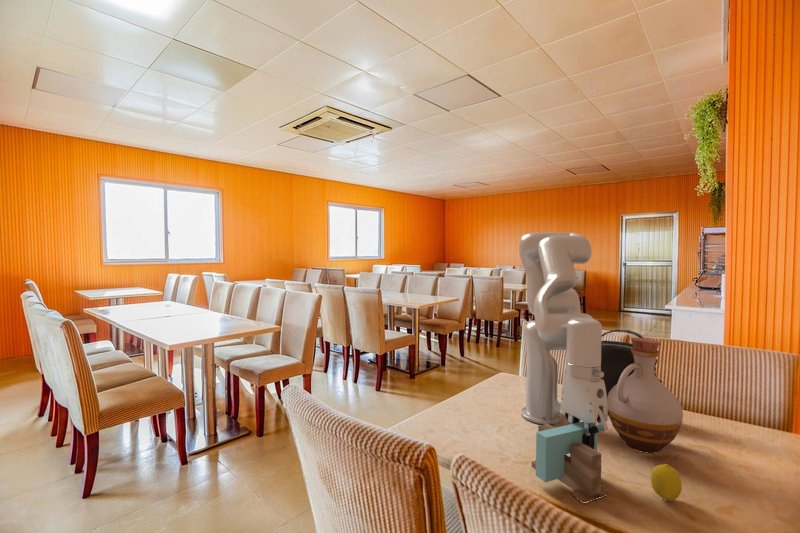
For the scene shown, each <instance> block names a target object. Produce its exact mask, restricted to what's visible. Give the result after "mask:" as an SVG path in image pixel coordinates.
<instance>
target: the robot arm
mask: <svg viewBox="0 0 800 533" xmlns="http://www.w3.org/2000/svg"><path fill="white" fill-rule="evenodd" d="M518 245H519V246H518V251H519V257H520V261H521V264H522V267H523V269H524V272H525V279H526V282H525V283H526V298H527V299H526V300H527V308H528V311H529V313H530V314H532V315H534V320H531V321H529V322H527V323H526V324H525V326H524V330H523V332H524V336H523V337H524V342H525V349H526V384H525V385H526V387H525V388H526V391H525V392H526V393H525V394H526V396H525V406H524V407H523V408H521V411H520V413H521V414H520V415H521V416H522V417H523V418H524V419H525V420H527V421H529V422H532V423H534V424H539V425H545V424H549V425H555V424H559V423H561V422H562V420H563V415H564V416H565V419H566V421H567V425H570V424H574V423H579V422H583V421H584V429H585V434H583V444H585V445H587V446H588V447H590V448H592V449H594V441H595V434H597V433H598V434H599V432H605V431H607V430H609V426H608V424H607V421H608V419H609V418H608V417H609V416H608V415H609V414H608V406H607V394H606V388H605V383H604V380H602V379H601V378H602V377H603V376H604V373H603V372H601V341H603V340H602V339H603V337H602V334H603V332H602V331H603V329H602V328H603V327H602V324H601V322H600V321H599V320H597V319H595V318H593V316H592V315H590V314H588V313H584V312H582V311H581V302H580V301H581V300H580V297H579V294H578V292H577V291H576V290H575V289H574V287H575V286H576V285H577V283H578V274H577V273H576V272H577V271H576V269H575V265H583V264H587V263H589V261H590V260H591V257H592V252H593V251H592V245H591V243H590V241H589V240H588V238H587V237H586V236H585V235H583V234H579V233H577V232H571V231H570V232H569V231H568V232H567V231H564V232H563V231H562V232H561V231H560V232H559V231H557V232H556V231H555V232H554V231H552V232H551V231H544V232H543V231H537V232H528V233H526V234H523V235H522V236H521V237H520V239H519V243H518ZM574 264H575V265H574ZM551 351H566V358H565V360H566V362H565V364H566V365H565V372H564V375H563V378H562V384H561V394H560V395H561V396H560V400H561V401H560V402H559V401H558V383H559V382H558V381H559V380H558V374H559V371H558V370H559V367H558V366H559V365H558V362H557V360H556V358H555V357H554V356H553V355H552V354H551ZM562 414H563V415H562ZM590 425H591V428H590Z"/></svg>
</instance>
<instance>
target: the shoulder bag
mask: <svg viewBox="0 0 800 533" xmlns="http://www.w3.org/2000/svg"><path fill="white" fill-rule="evenodd" d="M614 332H616V333H617V332H619V333H621V332H622V333H623V332H624V333H628V334H632V335H634V336H635V337H637V338H645V337H644V336H643V335H641V334H640V333H638V332H635V331H633V330H631V329H620V328H617V329H610V330H609V331H606V332H604V333H602V338H603V337H604V336H606V335H608V334H611V333H614ZM631 348H633V345H632V343H630V342H624V341H623V342H621V341H614V340H602V341H601V372H603V373H604V376H603V377H602V378H601V379H602V380H604V383H605V388H606V394H607V398H608V394H609V392H610V390H611V389H612V388H613V387H614V386H615V385H616V384H618V381H619V378H620V376H621V374H622V372H623V371H624V369H625V368H626V367H627V366H629V365H631V364H635V362H634V356H633V353H632V352H631ZM657 363H658V359H657V358H656V361H655V366H654V374H655V376H656V377H657V367H656V365H657ZM634 370H635V369H633V370H632V371H631V372H630V373H629V375H628V376H630V375H631V374H632V373H634ZM628 376H627V377H628ZM659 380H660V382H661V383H662V384H663V380H661V379H659ZM608 415H609V413H608Z"/></svg>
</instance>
